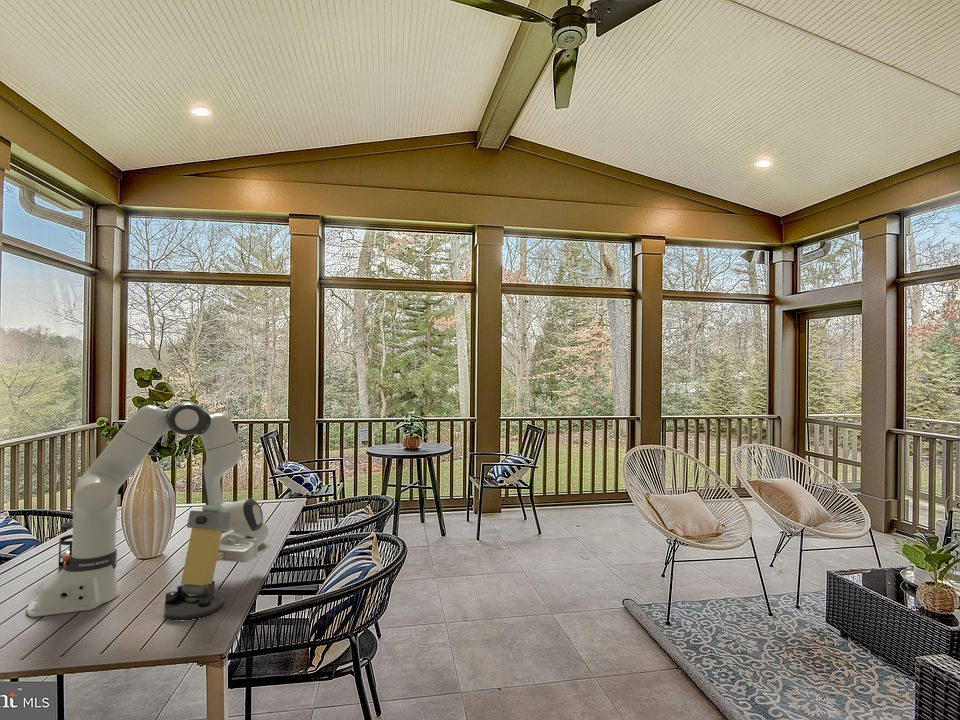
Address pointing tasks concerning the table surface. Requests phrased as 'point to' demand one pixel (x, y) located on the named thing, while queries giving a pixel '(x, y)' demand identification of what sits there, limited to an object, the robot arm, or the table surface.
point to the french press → (65, 542)
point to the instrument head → (203, 548)
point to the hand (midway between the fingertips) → (207, 560)
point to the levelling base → (193, 603)
